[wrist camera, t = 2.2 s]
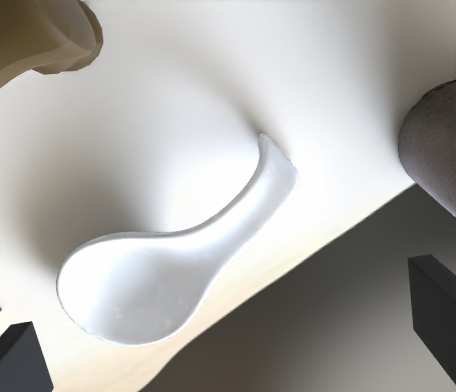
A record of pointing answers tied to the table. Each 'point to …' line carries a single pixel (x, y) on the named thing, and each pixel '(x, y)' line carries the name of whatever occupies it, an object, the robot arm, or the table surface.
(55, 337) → the table surface
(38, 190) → the table surface
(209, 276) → the spoon rest
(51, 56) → the kendama
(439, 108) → the pillar candle
